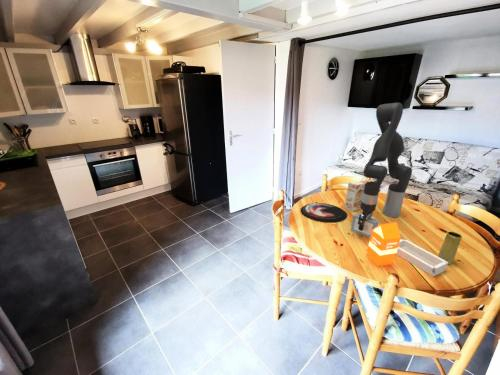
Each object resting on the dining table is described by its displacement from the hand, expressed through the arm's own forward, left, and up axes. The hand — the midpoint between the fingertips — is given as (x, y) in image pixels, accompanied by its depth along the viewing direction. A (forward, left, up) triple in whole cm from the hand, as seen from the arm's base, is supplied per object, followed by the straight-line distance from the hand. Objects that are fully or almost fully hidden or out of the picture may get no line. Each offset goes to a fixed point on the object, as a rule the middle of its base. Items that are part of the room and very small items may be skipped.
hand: (363, 227), depth 129 cm
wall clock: (+3, -29, -5) cm, 29 cm away
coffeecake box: (-22, -25, -4) cm, 34 cm away
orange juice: (+11, +20, -4) cm, 23 cm away
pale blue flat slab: (0, 0, -4) cm, 4 cm away
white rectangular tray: (-4, +27, -4) cm, 28 cm away
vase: (-16, +33, -4) cm, 37 cm away
